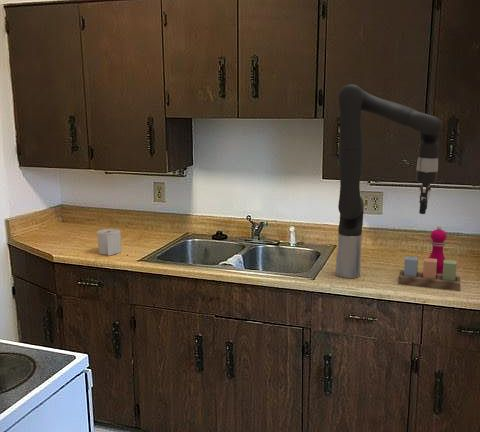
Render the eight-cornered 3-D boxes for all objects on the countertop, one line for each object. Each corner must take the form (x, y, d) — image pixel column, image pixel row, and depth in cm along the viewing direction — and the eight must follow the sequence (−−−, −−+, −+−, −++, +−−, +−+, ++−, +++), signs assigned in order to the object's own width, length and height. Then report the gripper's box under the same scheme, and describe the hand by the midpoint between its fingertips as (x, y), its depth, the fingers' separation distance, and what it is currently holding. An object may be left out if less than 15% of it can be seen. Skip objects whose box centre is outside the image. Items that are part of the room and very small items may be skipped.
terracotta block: (422, 278, 208) (423, 261, 206) (423, 275, 212) (424, 257, 210) (435, 280, 206) (436, 262, 204) (435, 276, 210) (437, 259, 209)
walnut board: (398, 284, 209) (398, 276, 209) (400, 277, 217) (400, 269, 217) (459, 291, 201) (460, 283, 201) (459, 283, 209) (460, 276, 209)
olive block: (442, 280, 205) (443, 263, 204) (442, 277, 209) (443, 259, 208) (455, 282, 203) (456, 264, 202) (455, 278, 208) (456, 260, 206)
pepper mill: (441, 270, 225) (444, 223, 221) (448, 276, 218) (451, 227, 214) (423, 271, 225) (427, 224, 220) (430, 276, 218) (433, 228, 213)
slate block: (403, 276, 210) (404, 259, 209) (404, 273, 214) (405, 256, 213) (416, 278, 208) (417, 260, 207) (417, 274, 213) (418, 257, 211)
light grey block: (114, 247, 264) (113, 227, 262) (127, 252, 255) (126, 231, 253) (94, 251, 257) (93, 231, 255) (107, 257, 248) (105, 235, 246)
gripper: (418, 166, 213) (414, 207, 216) (415, 171, 200) (411, 214, 203) (438, 168, 210) (434, 209, 213) (436, 172, 197) (432, 216, 201)
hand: (423, 211), depth 208 cm, fingers open, 8 cm apart
